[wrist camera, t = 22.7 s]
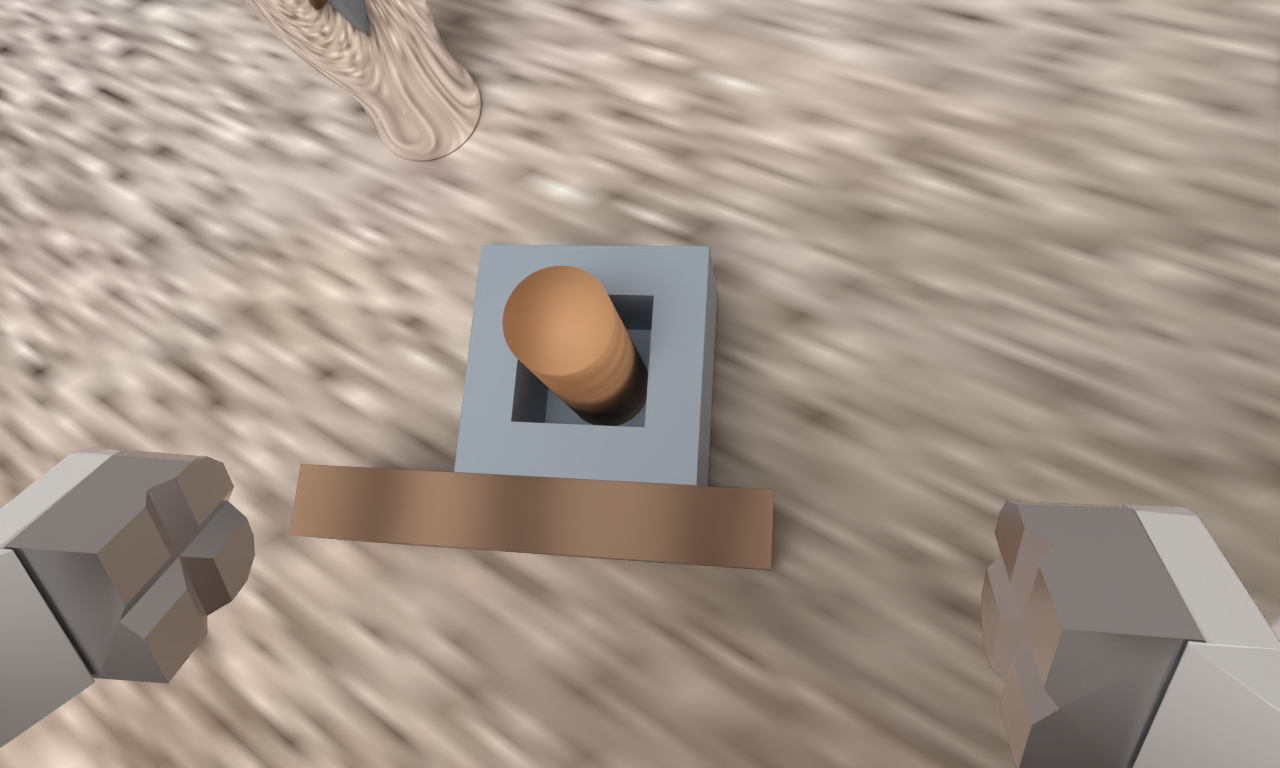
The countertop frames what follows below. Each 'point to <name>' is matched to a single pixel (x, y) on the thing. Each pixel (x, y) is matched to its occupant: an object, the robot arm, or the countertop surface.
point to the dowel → (576, 344)
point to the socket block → (550, 430)
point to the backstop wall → (537, 515)
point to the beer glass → (384, 67)
